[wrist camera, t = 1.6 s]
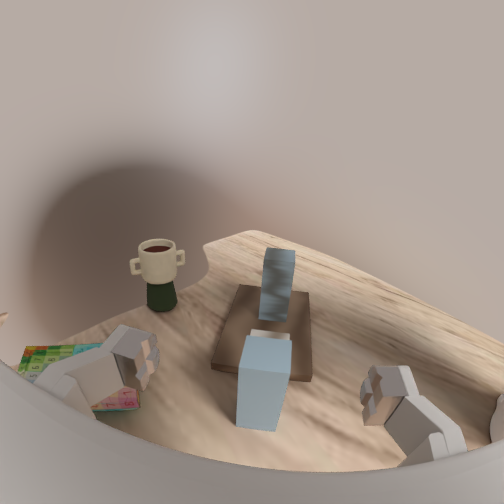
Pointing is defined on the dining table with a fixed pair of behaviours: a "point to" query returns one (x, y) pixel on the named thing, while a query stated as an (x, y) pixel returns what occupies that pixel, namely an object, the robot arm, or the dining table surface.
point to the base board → (250, 321)
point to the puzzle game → (42, 356)
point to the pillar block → (262, 382)
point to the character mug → (158, 271)
